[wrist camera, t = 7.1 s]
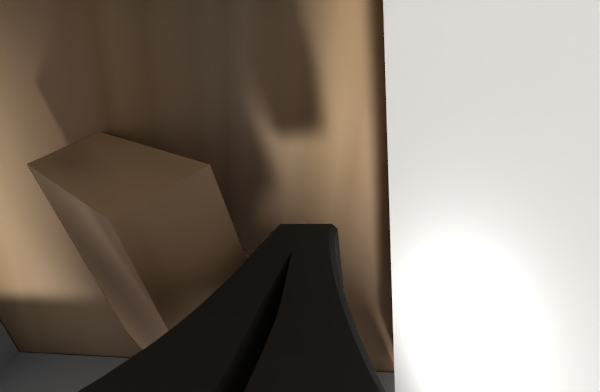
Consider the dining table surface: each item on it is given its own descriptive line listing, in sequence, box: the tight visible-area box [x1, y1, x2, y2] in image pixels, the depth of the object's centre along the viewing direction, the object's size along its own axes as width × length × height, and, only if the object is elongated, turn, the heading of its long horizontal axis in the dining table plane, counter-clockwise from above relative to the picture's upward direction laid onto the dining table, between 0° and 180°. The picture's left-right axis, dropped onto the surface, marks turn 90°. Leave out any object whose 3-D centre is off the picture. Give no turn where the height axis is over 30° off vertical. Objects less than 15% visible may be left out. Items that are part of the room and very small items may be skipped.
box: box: [0, 321, 395, 392], centre depth 13 cm, size 17×16×3 cm
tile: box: [27, 132, 247, 350], centre depth 12 cm, size 6×6×2 cm
